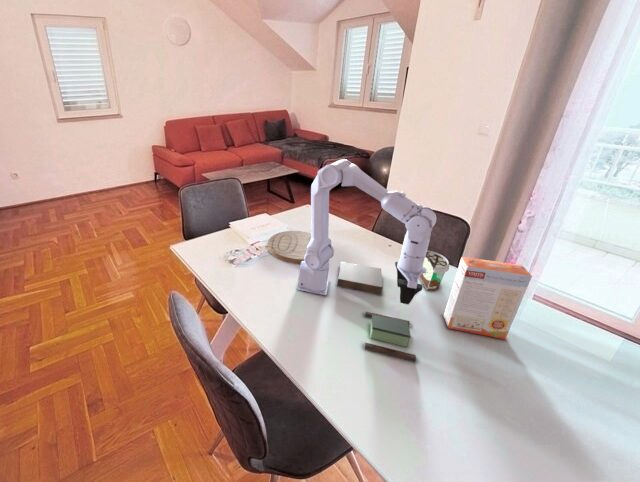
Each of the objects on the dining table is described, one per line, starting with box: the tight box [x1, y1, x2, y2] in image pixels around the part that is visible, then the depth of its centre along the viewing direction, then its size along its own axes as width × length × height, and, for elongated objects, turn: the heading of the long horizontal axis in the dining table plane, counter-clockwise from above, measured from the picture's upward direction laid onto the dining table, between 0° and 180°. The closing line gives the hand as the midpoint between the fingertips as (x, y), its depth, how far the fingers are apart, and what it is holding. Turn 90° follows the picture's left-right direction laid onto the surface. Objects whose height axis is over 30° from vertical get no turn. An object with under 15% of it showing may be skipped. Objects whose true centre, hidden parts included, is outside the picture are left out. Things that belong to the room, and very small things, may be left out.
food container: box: [419, 249, 450, 291], centre depth 107 cm, size 12×6×10 cm, turn 168°
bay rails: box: [364, 311, 417, 362], centre depth 87 cm, size 12×14×1 cm
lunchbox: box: [369, 315, 411, 347], centre depth 86 cm, size 9×5×4 cm, turn 70°
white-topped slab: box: [337, 260, 383, 295], centre depth 110 cm, size 14×12×3 cm
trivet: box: [267, 230, 311, 265], centre depth 132 cm, size 25×25×2 cm
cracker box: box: [443, 256, 533, 340], centre depth 86 cm, size 14×6×21 cm, turn 71°
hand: (402, 294), depth 88 cm, fingers open, 7 cm apart
